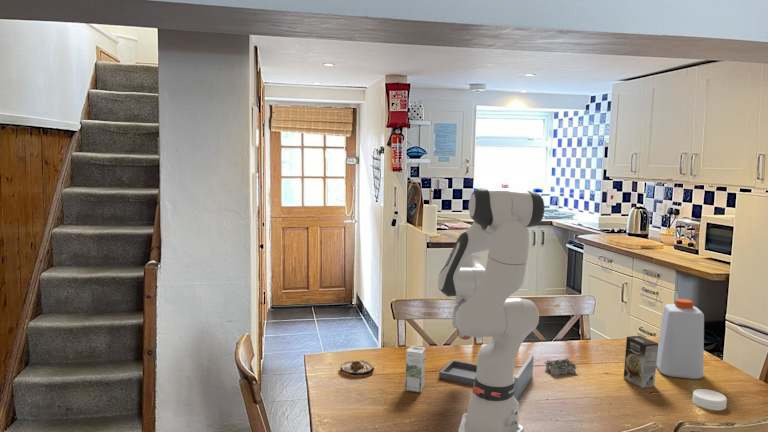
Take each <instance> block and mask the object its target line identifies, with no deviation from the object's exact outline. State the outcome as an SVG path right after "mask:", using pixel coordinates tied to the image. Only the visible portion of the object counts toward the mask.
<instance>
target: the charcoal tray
mask: <svg viewBox="0 0 768 432" xmlns="http://www.w3.org/2000/svg"><path fill="white" fill-rule="evenodd" d="M476 372H477V363H473V362H467V361H461V360H457V359H451V360H450V361H449V362H448V363H447V364H446V365H445V366H444V367H443V368H442V369H441V370H440V371H439V373H438V375H439V376H438V378H439V379H440V378H441V379H442V380H445V381H451V382H454V383H460V384H464V385H469V386H472V387H474V381H475V377H476ZM441 379H440V380H441Z"/></svg>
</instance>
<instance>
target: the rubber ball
mask: <svg viewBox="0 0 768 432" xmlns="http://www.w3.org/2000/svg"><path fill="white" fill-rule="evenodd" d="M456 334H457V336H458V338H459V339H462V340H469V339H471V338H472V337H470V336H464V337H460V336H459V330H458V328H456Z"/></svg>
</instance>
